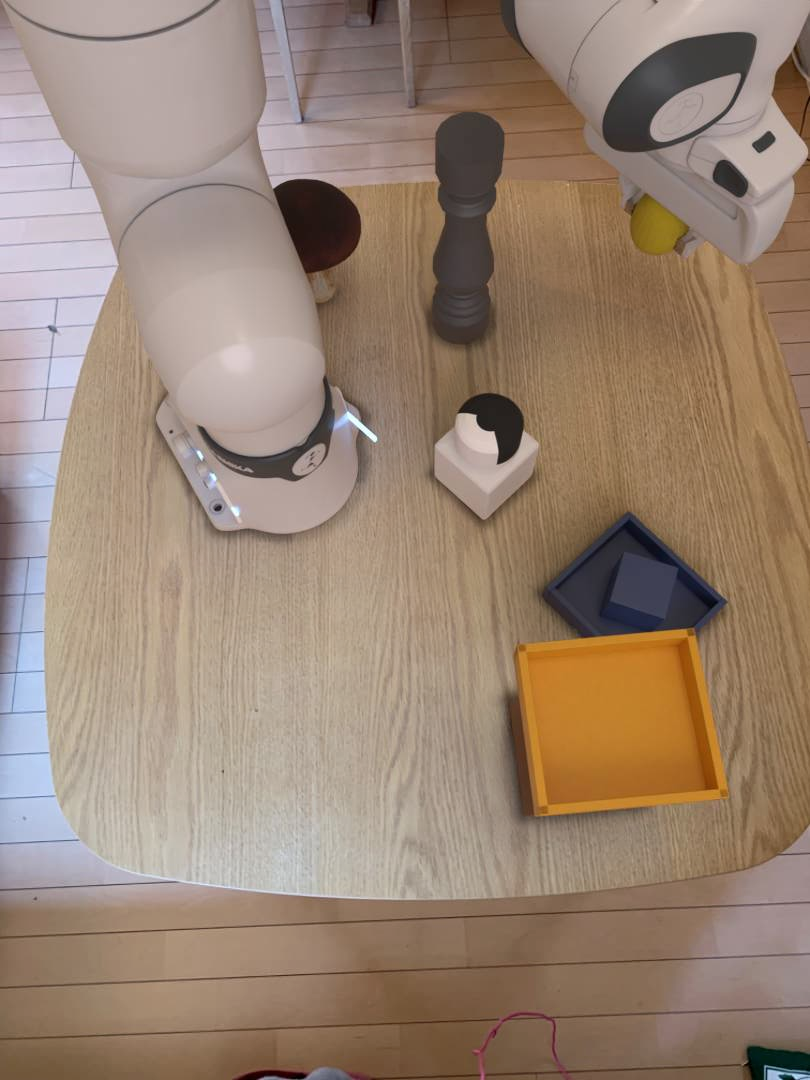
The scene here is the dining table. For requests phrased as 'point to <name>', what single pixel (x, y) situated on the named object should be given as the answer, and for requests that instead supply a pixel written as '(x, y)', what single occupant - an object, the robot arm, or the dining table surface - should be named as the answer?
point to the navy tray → (590, 574)
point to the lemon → (655, 227)
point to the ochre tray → (614, 724)
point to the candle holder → (465, 224)
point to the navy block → (639, 592)
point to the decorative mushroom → (319, 229)
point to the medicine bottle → (486, 453)
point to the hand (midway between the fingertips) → (657, 230)
